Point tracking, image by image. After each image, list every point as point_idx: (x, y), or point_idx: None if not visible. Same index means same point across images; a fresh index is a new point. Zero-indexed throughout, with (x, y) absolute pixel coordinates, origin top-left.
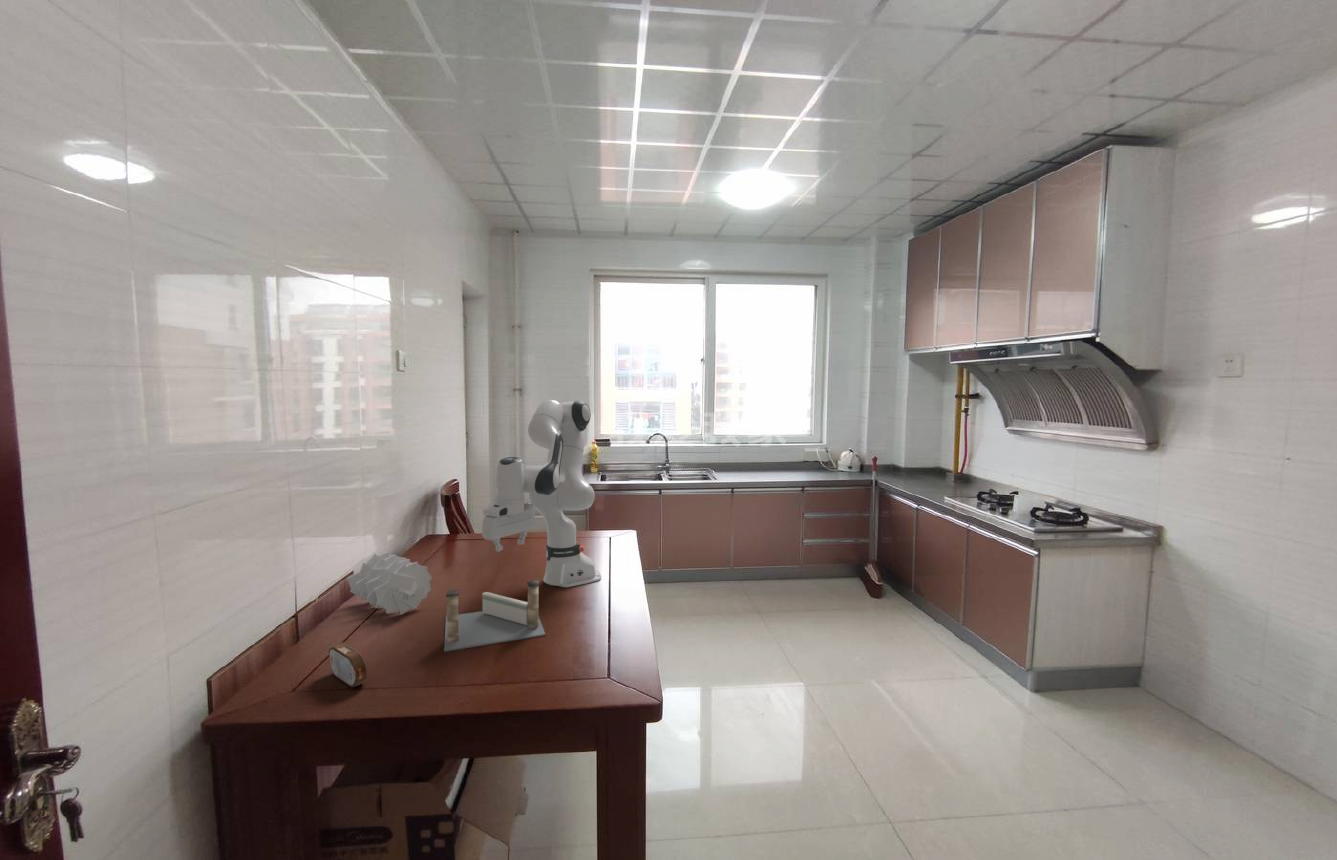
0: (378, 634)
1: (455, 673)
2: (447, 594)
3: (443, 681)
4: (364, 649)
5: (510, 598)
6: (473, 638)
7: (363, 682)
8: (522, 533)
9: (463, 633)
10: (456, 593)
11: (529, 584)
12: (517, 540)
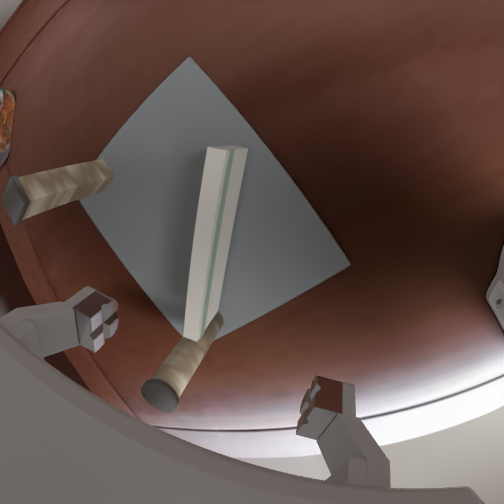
0: (94, 14)
1: (54, 254)
2: (3, 202)
3: (41, 250)
4: (53, 53)
5: (201, 275)
6: (119, 216)
7: (4, 159)
8: (327, 480)
9: (126, 177)
10: (12, 221)
11: (142, 391)
12: (315, 398)
